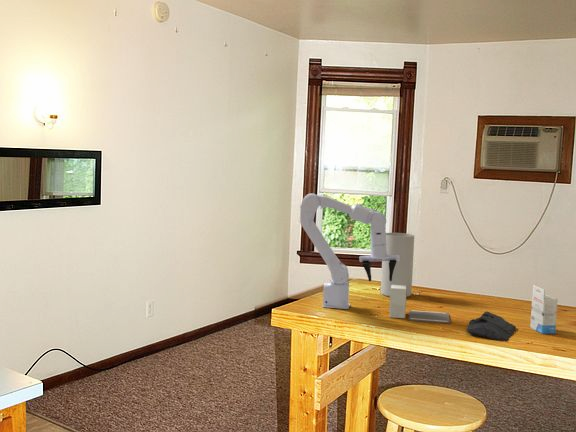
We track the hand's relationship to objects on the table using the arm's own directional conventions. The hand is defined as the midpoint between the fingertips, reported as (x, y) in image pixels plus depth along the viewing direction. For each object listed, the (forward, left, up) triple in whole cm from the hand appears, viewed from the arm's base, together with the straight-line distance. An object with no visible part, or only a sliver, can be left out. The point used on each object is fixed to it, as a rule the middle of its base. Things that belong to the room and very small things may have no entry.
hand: (380, 280), depth 238 cm
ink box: (+55, -14, -11) cm, 58 cm away
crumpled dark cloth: (+37, -20, -11) cm, 44 cm away
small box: (+7, -9, -11) cm, 16 cm away
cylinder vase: (+5, +28, -11) cm, 30 cm away
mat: (+18, -8, -11) cm, 22 cm away
